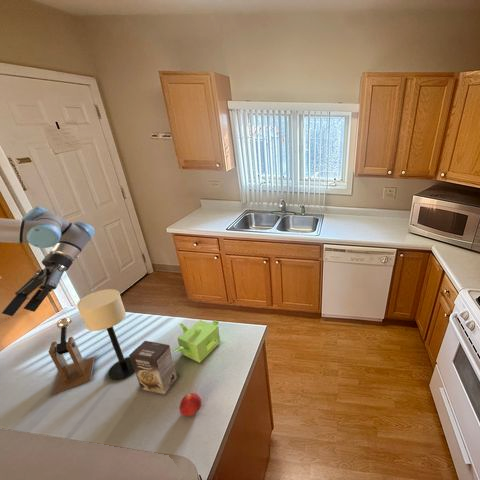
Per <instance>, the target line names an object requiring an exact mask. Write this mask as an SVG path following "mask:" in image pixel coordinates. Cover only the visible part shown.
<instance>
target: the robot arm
mask: <svg viewBox="0 0 480 480" xmlns="http://www.w3.org/2000/svg"><path fill="white" fill-rule="evenodd" d="M95 233H96V230H95V228H94V227H93V226H92V225H90V223H89V224H88V223H85V222H83V221H76V222H75V221H74V223H73V222H70V221H68V220H67V219H65V218H63V217H61V216H59V215H58V214H56V213H54V212H53V211H51V210H49V209H47V208H44V207H43V206H39V205H37V206H34V207H33V208H32V209H30V210H29V211H28V212H27V213H26V214H24V215H23V216H22V218H21V219H14V218H4V217H0V243H11V244H12V243H14V244H30V245H31V246H33V247H35V248H39V249H47V248H51V247H52V248H51V249H50V251H49V252H48V254H47V255H46V256H44V258H43V259H42V260H41V264H42V266H44V268H41V269H38V270H37V271H36V272H35V273H34V274H33V275H32V277H30V278H29V279H28V280H27V281H26V282H25V283H24V284H23V285H22V286H21V287H20V288H19V289H17V291H15V292H14V295H15V296H14V297H13V298H12V300H10V302H9V303H8V305H7V306H6V307H4V309H3V310H2V311H1V314H3V315H7V316H10V317H14V315H15V314H16V313H17V311H18V310H20V308H21V307H22V305H23V304H24V303H25V301H26V300H28V299H29V298H30V297H29V296H30V295H31V294H32V293H33V292H34V291H35V290H36V289H37V290H36V291H35V293H34V294H33V295H32V297H31V298H30V299H29V300H28V302H26V304H25V306H24V307H23V308H22V309H23V310H27V311H30V312H34V313H35V312H36V311H37V309H38V308H39V307H40V306H41V304H42V303H43V302H44V300H45V299H46V298H47V296H48V295H49V293H51V292H52V291H54V290H56V289H57V287H58V285H59V283H60V281H61V279H62V277H63V274H64V273H65V272H67V271H69V269H70V267H71V266H72V265H73V263H74V262H75V260H76V259H79V257H80V256H79V255H80V254H81V252H82V251H83V250H84V249H85V247H86V246H87V245H88V243H89V242H90V241H91V240H92V238H93V237H94V236H95Z"/></svg>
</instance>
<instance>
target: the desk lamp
mask: <svg viewBox="0 0 480 480" xmlns="http://www.w3.org/2000/svg"><path fill="white" fill-rule="evenodd" d="M76 307H77V310H78V312H79V314H80V316H81V319H82V321H83V323H84V327H85V328H86V330H88V331H92V332H98V331H104V330H106V331H107V334H108V336H109V340H110V341H111V342H110V343H111V345H112V347H113V350H114V353H115V355H116V358H117V360H118V361H116V362H115V363H114V364H113V365H112V366H111V367H110V368H109V370H108V372H107V376H108V378H109V379H110V380H112V381H120V380H124V379H126V378H129V377H130V376H132V375H133V374H134V373H135V370H134V368H133V365H132V362H131V359H130V356H128V357H125V356H124V353H123V351H122V348H121V345H120V342H119V340H118V337H117V335H116V331H115V329H114V327H115V326H116V325H118V324H120V323H121V322H122V321H123V320H124V319H125V318H126V315H127V311H126V310H125V305H124V303H123V300H122V296H121V294H120V291H118V290H117V289H113V288H112V289H111V288H110V289H101V290H98V291H97V290H96V291H94V292H92V293H91V292H90V293H89V294H87V295H85V296H84V297H82V298H81V299H79V301H78V302H77V304H76Z"/></svg>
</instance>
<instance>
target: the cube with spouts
mask: <svg viewBox="0 0 480 480" xmlns="http://www.w3.org/2000/svg"><path fill="white" fill-rule="evenodd" d="M218 325H219V321H218V320H215V319H214V320H213V322H212V323H210V322H207V321H205V320H202V319H199V320H198V321H197V322H195V323H194V324H193V325H192V326H190V327H189V328H188V327H187V326H186V325H185V324H184V323H179V324H178V326H179V327H180V328H181V329H182V331H183V333H182V334H181V335H179V336H178V337H177V342H178V347H177V348H175V349H174V352H175V353H176V352H180V354H181V355H182V356H184V357H187V358H189V359H191V360H192V361H195V362H197V363H201V362H202V361H203V360H204V359H205V358H206V357H207V356H209V354H210V353H211V352H212V351H214V349H216V347H218V346H219V344H221V336H220V330H219V326H218Z"/></svg>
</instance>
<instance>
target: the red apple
mask: <svg viewBox="0 0 480 480" xmlns="http://www.w3.org/2000/svg"><path fill="white" fill-rule="evenodd" d="M201 406H202V398H201V396H200V395H199V394H198V393H196V392H190V393H187V394H186V395H184V397H182V399H181V401H180V403H179V411H180V414H181V415H182V416H184V417H191V416H194V415H195V414H197V413H198V412H199V410H200V409H201Z"/></svg>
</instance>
